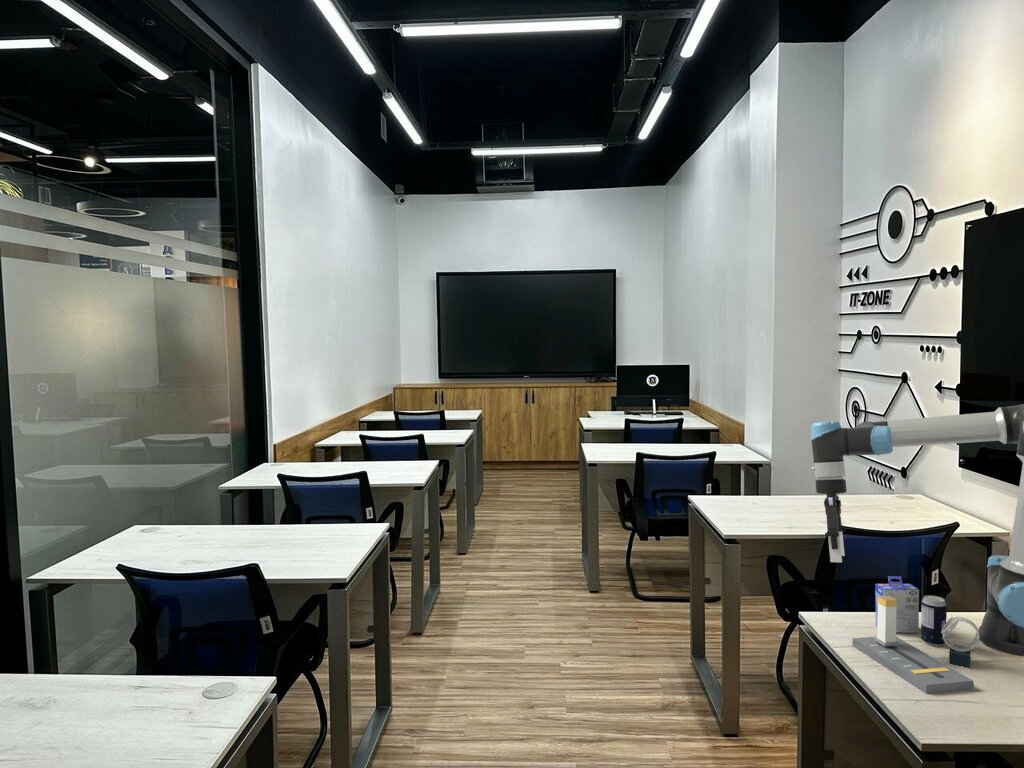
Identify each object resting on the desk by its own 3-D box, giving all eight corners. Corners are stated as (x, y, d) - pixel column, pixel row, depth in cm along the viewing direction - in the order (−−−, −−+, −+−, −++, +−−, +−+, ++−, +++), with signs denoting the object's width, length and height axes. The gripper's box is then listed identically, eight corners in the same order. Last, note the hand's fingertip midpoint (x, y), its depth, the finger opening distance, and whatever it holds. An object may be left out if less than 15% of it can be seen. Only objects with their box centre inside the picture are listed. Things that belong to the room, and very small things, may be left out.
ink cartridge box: (909, 625, 194) (910, 575, 194) (920, 633, 189) (921, 581, 188) (873, 625, 195) (874, 574, 194) (882, 633, 189) (883, 580, 189)
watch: (940, 654, 176) (941, 611, 175) (979, 661, 171) (979, 618, 171) (939, 662, 171) (940, 618, 171) (978, 670, 167) (979, 625, 166)
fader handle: (888, 639, 179) (888, 595, 179) (898, 645, 175) (899, 600, 175) (874, 640, 179) (874, 595, 178) (884, 646, 175) (885, 601, 174)
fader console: (893, 642, 183) (893, 634, 183) (973, 689, 157) (973, 680, 157) (852, 645, 181) (852, 637, 181) (926, 693, 155) (926, 684, 155)
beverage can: (944, 649, 178) (945, 604, 178) (919, 644, 182) (920, 599, 181) (946, 642, 183) (947, 597, 183) (922, 637, 186) (923, 593, 186)
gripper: (818, 477, 200) (825, 552, 197) (811, 480, 178) (818, 564, 175) (847, 477, 196) (855, 553, 193) (843, 479, 174) (851, 565, 172)
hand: (837, 558), depth 184 cm, fingers open, 13 cm apart
